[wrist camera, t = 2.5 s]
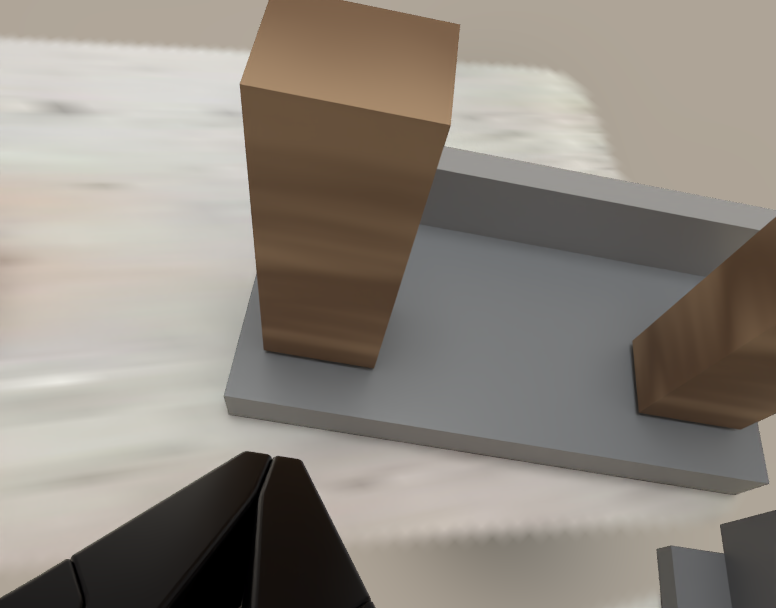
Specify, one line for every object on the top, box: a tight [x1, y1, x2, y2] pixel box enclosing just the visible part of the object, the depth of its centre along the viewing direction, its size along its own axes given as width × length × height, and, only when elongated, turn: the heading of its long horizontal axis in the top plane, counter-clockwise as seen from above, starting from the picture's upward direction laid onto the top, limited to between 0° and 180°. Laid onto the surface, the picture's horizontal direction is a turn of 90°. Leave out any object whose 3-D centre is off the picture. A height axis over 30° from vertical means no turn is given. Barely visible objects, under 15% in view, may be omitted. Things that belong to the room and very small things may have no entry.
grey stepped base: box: [224, 146, 776, 495], centre depth 23 cm, size 10×20×6 cm, turn 83°
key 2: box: [240, 0, 460, 368], centre depth 17 cm, size 3×4×12 cm
